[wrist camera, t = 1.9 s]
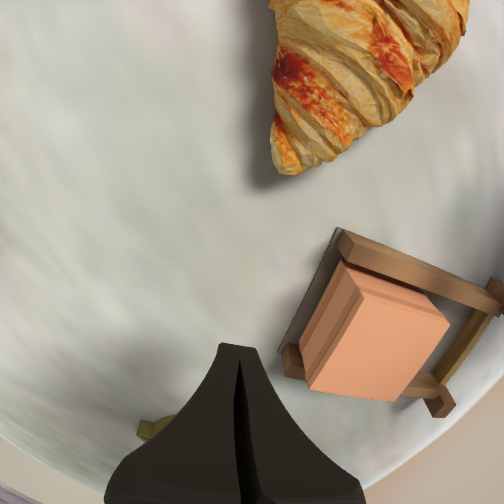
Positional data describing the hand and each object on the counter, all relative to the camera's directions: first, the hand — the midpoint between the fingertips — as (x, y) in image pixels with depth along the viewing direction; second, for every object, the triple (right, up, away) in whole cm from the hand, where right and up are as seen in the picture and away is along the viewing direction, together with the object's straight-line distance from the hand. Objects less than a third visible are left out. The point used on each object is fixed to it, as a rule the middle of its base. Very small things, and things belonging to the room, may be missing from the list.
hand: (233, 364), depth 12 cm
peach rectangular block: (+8, 0, +8) cm, 11 cm away
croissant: (+6, +18, +2) cm, 19 cm away
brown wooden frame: (+11, -1, +9) cm, 14 cm away
